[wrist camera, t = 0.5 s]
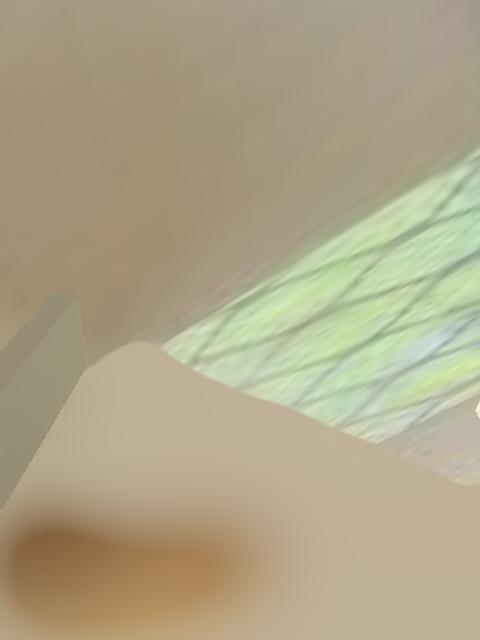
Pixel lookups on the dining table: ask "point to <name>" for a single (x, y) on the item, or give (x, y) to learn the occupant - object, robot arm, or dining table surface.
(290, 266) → the dining table surface
